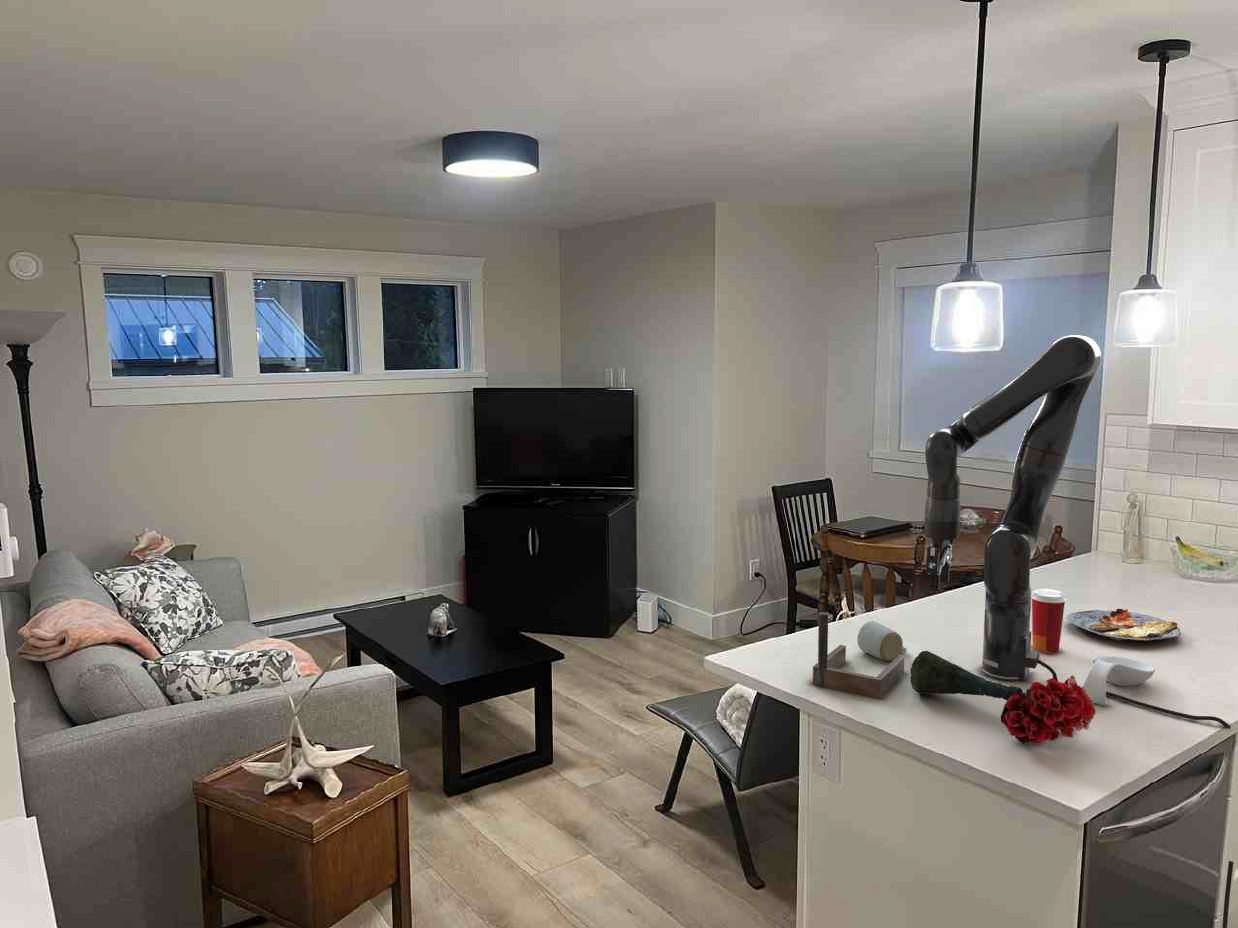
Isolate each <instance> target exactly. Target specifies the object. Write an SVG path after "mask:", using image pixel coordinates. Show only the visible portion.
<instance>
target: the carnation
mask: <svg viewBox="0 0 1238 928" xmlns="http://www.w3.org/2000/svg"><path fill="white" fill-rule="evenodd" d="M910 684H911V688H912V689H913V690H914V691H915V692H916V693H918V694H925V695H927V694H930V695H931V694H934V695H935V694H937V695H939V694H941V695H959V694H960V695H968V696H981V697H982V696H986V697H991V698H995V699H1002V700H1004V701H1006V702H1005V703H1004V704H1003V708H1002V711H1001V714H1000V717H999V718H1000V723H1001V724H1003V725H1004V726H1005V727H1006V729H1007V731H1008V733H1009V735H1010V736H1012V737H1014V738H1015V739H1016V740H1017V741H1018V742H1019V743H1021V744H1023V745H1025V744H1029V743H1032V744H1034V745H1039V744H1043V743H1046V742H1047V741H1052V742H1054V741H1055V740H1057V739H1059V738H1060V733H1061V734H1062V735H1063V736H1064V737H1066V738H1070V739H1073V738H1074V736H1073V735H1074V733H1076V732H1080V731H1082V730H1087V731H1088V730H1089V729H1090V724H1091V723H1092V720H1094V719H1095V716H1096V712H1097V711H1096V708H1095V706H1094V705H1093V704H1094V703H1093V700H1092V698H1091V696H1090V694H1089V693H1088V690H1087V688H1086V687H1085V686H1084V685H1083V686H1080V685H1078V682H1077V680H1076V677H1075V676H1074V675H1073V674H1072V675H1070V677H1069V678H1067V679H1066V680H1064V681H1063V682H1062V681H1061V682H1060V681H1059V682H1057V681H1056V680H1055V679H1054V677H1053V676H1052V677H1051V678H1048V679H1046V685H1045V684H1043V683H1041V682H1040V681H1032V683H1031V685H1030V687H1029V688H1028V689H1026V691H1025V692H1023V691H1024V690H1023V689H1022V688H1021V686H1020V687H1019V686H1014V685H1006V684H1002V683H1001V682H994V681H992V680H988V679H986V678H984V677H982V676H979V675H977V674H974V673H973V672H970V671H968V670H967V669H965V668H963V667H961V666H960V665H957V664H955V663H953V662H951V661H949V660H947V659H945V658H943V657H941V656H939V655H937V654H935V653H933V652H931V651H929V650H922V651H920V652H919V654H917V656H916V657H915V658H914V659H913V661H912V663H911V667H910Z"/></svg>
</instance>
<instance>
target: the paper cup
mask: <svg viewBox="0 0 1238 928" xmlns="http://www.w3.org/2000/svg"><path fill="white" fill-rule="evenodd" d="M1066 602H1067V598H1066V595H1065V593H1064V592H1062V591H1060V590H1057V589H1051V588H1038V589H1034V590H1032V594H1031V624H1032V625H1031V643H1032V651H1035V652H1039V654H1045V655H1054V654H1058V653H1059V651H1060V644H1061V643H1060V642H1061V637H1062V630H1063V629H1062V628H1063V622H1064V621H1063V620H1064V611H1065V604H1066Z"/></svg>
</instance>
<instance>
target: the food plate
mask: <svg viewBox="0 0 1238 928" xmlns="http://www.w3.org/2000/svg"><path fill="white" fill-rule="evenodd" d="M1065 619H1066V620H1067V621H1068V622H1069V623H1070V624H1071V625H1073V626H1075V627H1078V628H1080V629H1083V630H1085V631H1086V632H1090V633H1093V634H1096V635H1099V636H1102V637H1105V638H1109V639H1112V640H1116V641H1120V642H1121V641H1122V640H1124V641H1127V640H1132V641H1152V640H1163V639H1164V640H1165V639H1169V638H1177V637H1181V635H1182V633H1181V629H1180V628H1179V627H1178V623H1177V622H1175V621H1166V620H1163V619H1161V618H1159V617H1154V616H1152V615H1148V614H1141V613H1137V612H1136V613H1135V612H1132V611H1129V609H1127V608H1125V609H1123V608H1116V610H1111V609H1110V610H1108V609H1107V610H1101V609H1094V610H1093V609H1092V610H1083V611H1075V612H1071V613H1069V614H1066V616H1065Z"/></svg>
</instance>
